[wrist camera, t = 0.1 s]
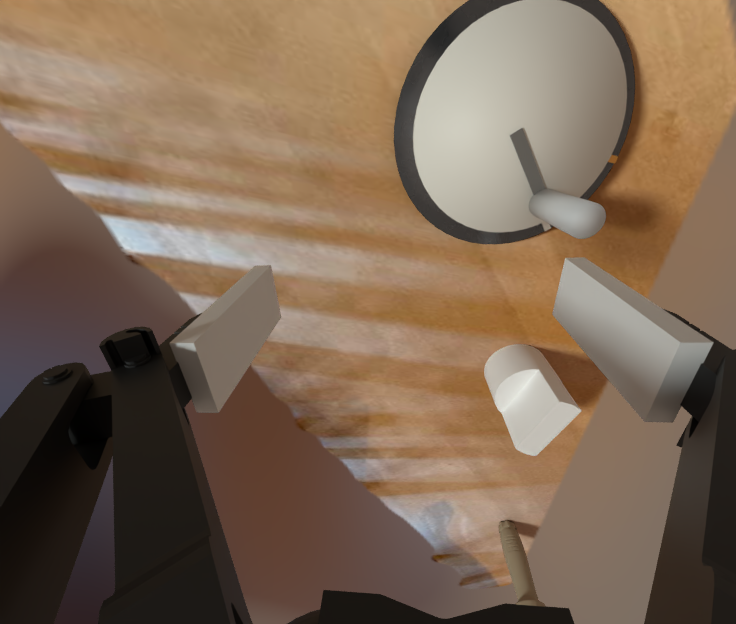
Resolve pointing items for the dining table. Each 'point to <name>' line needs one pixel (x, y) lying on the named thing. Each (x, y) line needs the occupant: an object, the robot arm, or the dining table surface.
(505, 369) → the cylinder with rectangular tab
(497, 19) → the dial
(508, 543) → the handle
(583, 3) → the dial base
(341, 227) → the dining table surface
